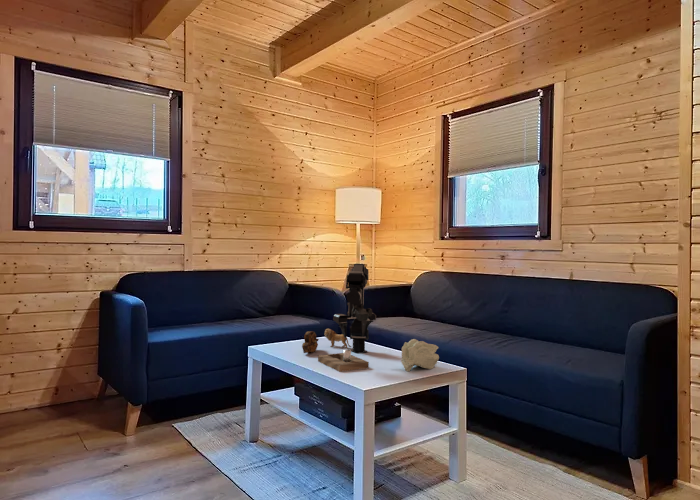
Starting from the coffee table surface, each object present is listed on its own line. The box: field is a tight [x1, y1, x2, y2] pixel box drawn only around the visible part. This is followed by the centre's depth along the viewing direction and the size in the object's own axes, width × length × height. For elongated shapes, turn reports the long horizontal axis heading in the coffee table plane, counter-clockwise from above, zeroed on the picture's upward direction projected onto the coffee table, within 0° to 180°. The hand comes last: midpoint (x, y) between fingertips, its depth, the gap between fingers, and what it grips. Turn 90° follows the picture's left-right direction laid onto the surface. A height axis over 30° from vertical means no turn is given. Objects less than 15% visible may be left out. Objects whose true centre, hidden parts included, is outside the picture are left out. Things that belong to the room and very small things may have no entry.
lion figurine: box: [324, 328, 352, 350], centre depth 247 cm, size 15×5×9 cm, turn 73°
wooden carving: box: [301, 330, 319, 354], centre depth 233 cm, size 16×5×10 cm, turn 168°
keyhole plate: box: [317, 352, 370, 373], centre depth 210 cm, size 20×14×3 cm
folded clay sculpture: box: [400, 338, 440, 372], centre depth 206 cm, size 18×13×16 cm
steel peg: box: [342, 349, 352, 362], centre depth 207 cm, size 5×5×7 cm
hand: (354, 336), depth 211 cm, fingers open, 9 cm apart
